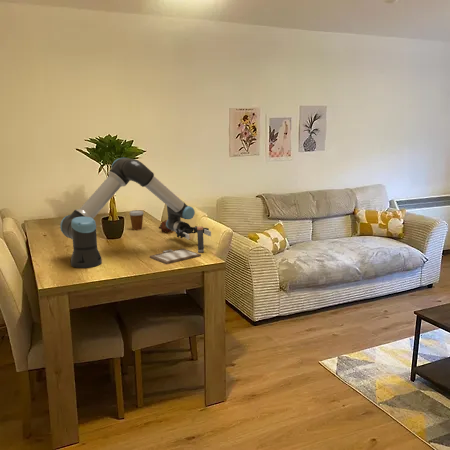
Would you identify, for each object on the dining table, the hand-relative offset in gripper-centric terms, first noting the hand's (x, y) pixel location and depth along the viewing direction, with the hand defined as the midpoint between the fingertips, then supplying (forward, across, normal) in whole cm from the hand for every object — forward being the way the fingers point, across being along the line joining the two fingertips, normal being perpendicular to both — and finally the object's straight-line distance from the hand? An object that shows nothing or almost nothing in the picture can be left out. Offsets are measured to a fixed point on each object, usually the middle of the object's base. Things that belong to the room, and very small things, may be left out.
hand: (199, 235), depth 259 cm
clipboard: (+2, +16, -9) cm, 19 cm away
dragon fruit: (-54, -5, -10) cm, 55 cm away
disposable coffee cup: (-72, +8, -10) cm, 73 cm away
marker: (+1, 0, -9) cm, 9 cm away
